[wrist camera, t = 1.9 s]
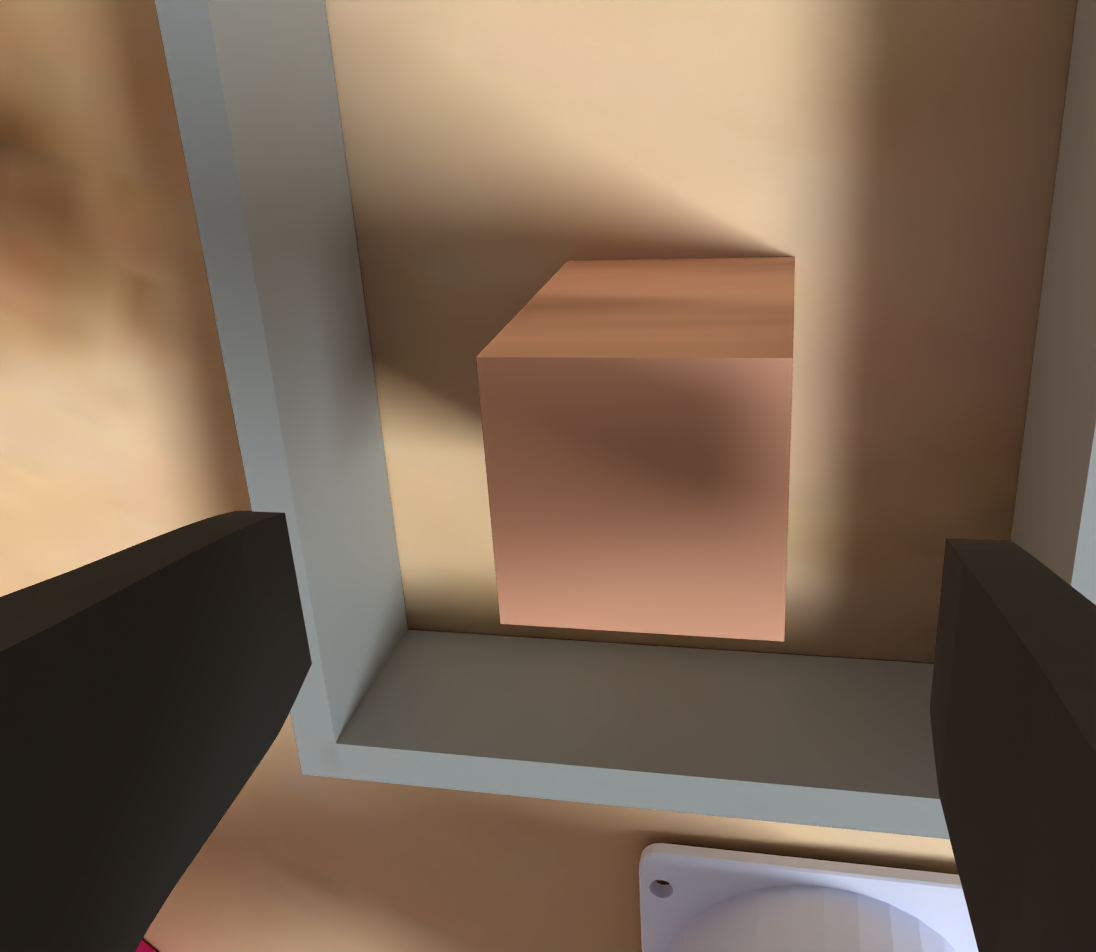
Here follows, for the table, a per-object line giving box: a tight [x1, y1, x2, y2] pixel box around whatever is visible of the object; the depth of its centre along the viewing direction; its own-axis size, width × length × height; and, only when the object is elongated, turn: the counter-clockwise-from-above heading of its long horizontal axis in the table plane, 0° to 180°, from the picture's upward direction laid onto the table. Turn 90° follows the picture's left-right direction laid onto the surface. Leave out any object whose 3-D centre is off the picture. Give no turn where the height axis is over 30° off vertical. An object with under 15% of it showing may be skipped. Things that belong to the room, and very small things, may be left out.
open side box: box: [155, 0, 1096, 839], centre depth 17 cm, size 14×14×4 cm
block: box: [476, 257, 795, 641], centre depth 17 cm, size 4×4×6 cm
